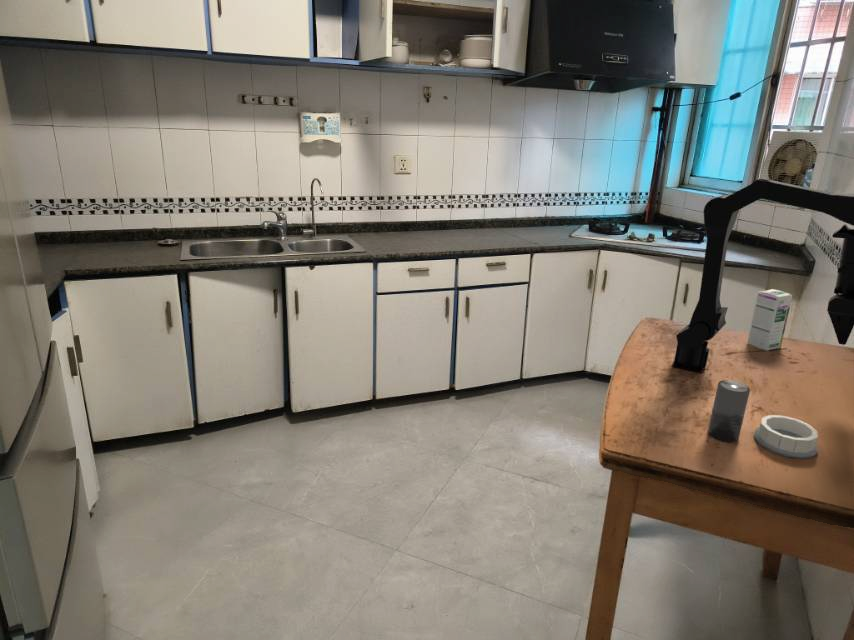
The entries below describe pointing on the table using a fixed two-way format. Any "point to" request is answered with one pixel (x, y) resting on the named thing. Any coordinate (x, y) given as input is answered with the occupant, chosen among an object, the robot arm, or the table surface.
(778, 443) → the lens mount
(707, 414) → the table surface
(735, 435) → the lens
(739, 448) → the table surface
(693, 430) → the table surface
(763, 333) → the syrup box
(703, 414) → the table surface
